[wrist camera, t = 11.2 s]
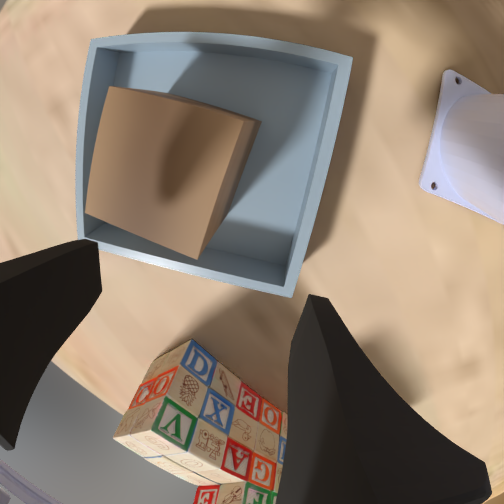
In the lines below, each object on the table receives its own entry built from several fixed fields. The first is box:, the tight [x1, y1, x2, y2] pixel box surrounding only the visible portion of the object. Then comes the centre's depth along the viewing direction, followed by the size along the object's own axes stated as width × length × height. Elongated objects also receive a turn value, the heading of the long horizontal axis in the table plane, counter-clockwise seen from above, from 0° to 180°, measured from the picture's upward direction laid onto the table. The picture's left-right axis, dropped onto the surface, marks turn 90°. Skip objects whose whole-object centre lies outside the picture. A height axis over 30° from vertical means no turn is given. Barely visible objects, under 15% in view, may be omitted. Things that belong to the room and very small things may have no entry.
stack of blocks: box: [113, 339, 288, 504], centre depth 21 cm, size 21×6×12 cm, turn 41°
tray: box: [76, 32, 353, 298], centre depth 15 cm, size 14×13×3 cm
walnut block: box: [85, 86, 262, 260], centre depth 13 cm, size 6×6×6 cm
